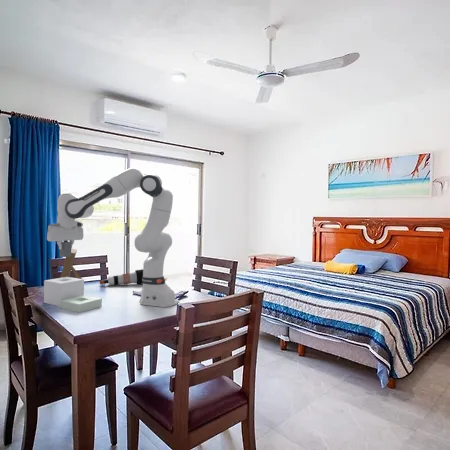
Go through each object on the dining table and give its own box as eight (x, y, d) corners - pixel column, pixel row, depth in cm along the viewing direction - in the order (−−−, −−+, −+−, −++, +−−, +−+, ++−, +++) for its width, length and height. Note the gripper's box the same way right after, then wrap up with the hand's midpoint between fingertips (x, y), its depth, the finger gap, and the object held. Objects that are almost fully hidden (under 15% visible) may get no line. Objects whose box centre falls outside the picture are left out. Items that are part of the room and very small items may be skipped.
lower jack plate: (101, 306, 178) (101, 298, 178) (79, 312, 165) (79, 304, 165) (83, 302, 184) (83, 295, 184) (60, 308, 172) (60, 300, 172)
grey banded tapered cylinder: (100, 291, 230) (99, 277, 233) (151, 284, 242) (149, 270, 246) (100, 287, 221) (98, 273, 225) (152, 280, 233) (150, 266, 237)
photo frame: (56, 293, 203) (56, 251, 202) (59, 286, 223) (60, 248, 223) (82, 292, 208) (83, 251, 207) (84, 285, 228) (85, 248, 228)
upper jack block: (83, 301, 187) (84, 279, 187) (61, 306, 175) (61, 283, 174) (66, 297, 194) (67, 276, 193) (43, 302, 181) (44, 280, 181)
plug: (71, 256, 184) (71, 238, 184) (64, 257, 181) (64, 238, 180) (66, 255, 186) (66, 237, 186) (59, 256, 183) (59, 238, 182)
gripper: (52, 223, 172) (51, 250, 173) (85, 223, 190) (85, 248, 191) (44, 223, 175) (43, 249, 176) (77, 223, 193) (77, 247, 194)
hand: (65, 248), depth 183 cm, fingers closed on plug, 4 cm apart
